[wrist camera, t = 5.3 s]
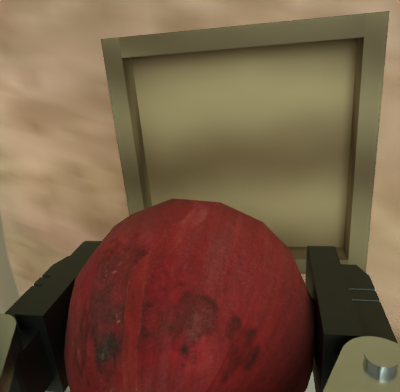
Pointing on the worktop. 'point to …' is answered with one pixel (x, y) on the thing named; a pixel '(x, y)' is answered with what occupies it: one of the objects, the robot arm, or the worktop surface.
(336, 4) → the worktop surface
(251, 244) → the onion
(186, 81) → the tray
